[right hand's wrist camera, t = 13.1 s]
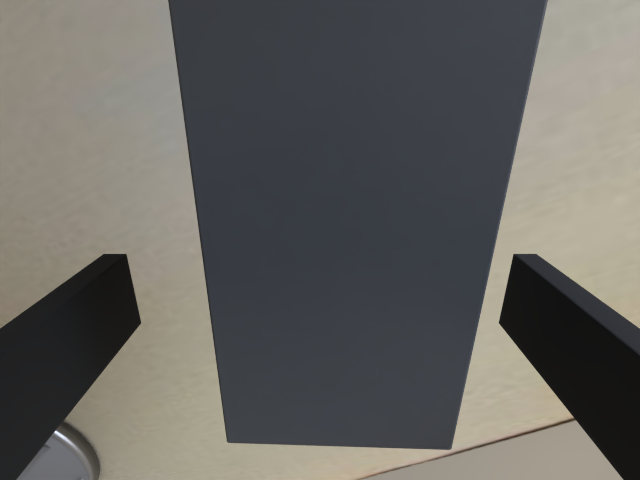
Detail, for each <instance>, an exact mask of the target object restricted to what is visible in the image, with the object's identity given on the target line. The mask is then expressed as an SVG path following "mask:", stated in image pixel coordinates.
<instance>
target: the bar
mask: <svg viewBox="0 0 640 480" xmlns="http://www.w3.org/2000/svg"><path fill="white" fill-rule="evenodd" d="M168 1H169V9H170V16H171V24H172V31H173V39H174V46H175V54H176V61H177V69H178V76H179V84H180V91H181V99H182V106H183V114H184V121H185V129H186V136H187V144H188V151H189V159H190V167H191V174H192V182H193V189H194V197H195V204H196V212H197V219H198V227H199V234H200V242H201V249H202V257H203V264H204V272H205V279H206V287H207V294H208V302H209V309H210V317H211V324H212V332H213V339H214V347H215V354H216V362H217V370H218V377H219V385H220V392H221V400H222V407H223V415H224V422H225V430H226V437H227V442H228V443H251V444H282V445H314V446H346V447H378V448H409V449H441V450H450V449H451V448H452V443H453V439H454V434H455V429H456V425H457V420H458V415H459V411H460V406H461V401H462V397H463V392H464V387H465V383H466V378H467V373H468V369H469V364H470V360H471V355H472V350H473V346H474V341H475V336H476V332H477V327H478V322H479V318H480V313H481V308H482V304H483V299H484V294H485V290H486V285H487V280H488V276H489V271H490V266H491V262H492V257H493V252H494V248H495V243H496V239H497V234H498V229H499V225H500V220H501V215H502V211H503V206H504V201H505V197H506V192H507V187H508V183H509V178H510V173H511V169H512V164H513V159H514V155H515V150H516V145H517V141H518V136H519V131H520V127H521V122H522V117H523V113H524V108H525V104H526V99H527V94H528V90H529V85H530V80H531V76H532V71H533V66H534V62H535V57H536V52H537V48H538V43H539V38H540V34H541V29H542V24H543V20H544V15H545V10H546V6H547V1H548V0H168Z"/></svg>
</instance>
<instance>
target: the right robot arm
mask: <svg viewBox="0 0 640 480" xmlns="http://www.w3.org/2000/svg"><path fill="white" fill-rule="evenodd" d="M140 324H141V320H140V315H139V311H138V306H137V301H136V297H135V292H134V287H133V283H132V278H131V274H130V269H129V264H128V260H127V255H126V254H103V255H102V256H100V257H99V258H98V259H96V260H95V261H93V262H92V263H91V264H89V265H88V266H87V267H85V268H84V269H82V270H81V271H80V272H78V273H77V274H75V275H74V276H73V277H71V278H70V279H69V280H67V281H66V282H64V283H63V284H62V285H60V286H59V287H57V288H56V289H55V290H53V291H52V292H50V293H49V294H48V295H46V296H45V297H44V298H42V299H41V300H39V301H38V302H37V303H35V304H34V305H32V306H31V307H30V308H28V309H27V310H26V311H24V312H23V313H21V314H20V315H19V316H17V317H16V318H14V319H13V320H12V321H10V322H9V323H8V324H6V325H5V326H3V327H2V328H1V329H0V480H98V478H99V473H100V465H99V461H98V458H97V455H96V453H95V451H94V450H93V448H92V447H91V445H90V444H89V443H88V441H87V440H86V439H85V438H84V437H83V436H82V435H81V434H80V433H78V432H77V431H76V430H75V429H73V428H72V427H70V426H69V425H67V424H66V423H64V422H63V421H64V419H65V418H66V417H67V416H68V414H69V413H70V412H71V410H72V409H73V408H74V407H75V405H76V404H77V403H78V402H79V400H80V399H81V398H82V397H83V395H84V394H85V393H86V392H87V390H88V389H89V388H90V387H91V385H92V384H93V383H94V382H95V380H96V379H97V378H98V377H99V375H100V374H101V373H102V371H103V370H104V369H105V368H106V366H107V365H108V364H109V363H110V361H111V360H112V359H113V358H114V356H115V355H116V354H117V353H118V351H119V350H120V349H121V348H122V346H123V345H124V344H125V343H126V341H127V340H128V339H129V338H130V336H131V335H132V334H133V333H134V331H135V330H136V329H137V327H138V326H139V325H140ZM499 324H500V325H501V326H502V327H503V329H504V330H505V331H506V333H507V334H508V335H509V336H510V338H511V339H512V340H513V341H514V343H515V344H516V345H517V346H518V348H519V349H520V350H521V351H522V353H523V354H524V355H525V356H526V358H527V359H528V360H529V361H530V363H531V364H532V365H533V366H534V368H535V369H536V370H537V371H538V373H539V374H540V375H541V377H542V378H543V379H544V380H545V382H546V383H547V384H548V385H549V387H550V388H551V389H552V390H553V392H554V393H555V394H556V395H557V397H558V398H559V399H560V400H561V402H562V403H563V404H564V405H565V407H566V408H567V409H568V410H569V412H570V413H571V414H572V416H573V417H574V418H575V419H576V421H577V422H578V423H579V424H580V426H581V427H582V428H583V429H584V431H585V432H586V433H587V434H588V436H589V437H590V438H591V439H592V441H593V442H594V443H595V444H596V446H597V447H598V448H599V449H600V451H601V452H602V453H603V454H604V456H605V457H606V458H607V460H608V461H609V462H610V463H611V465H612V466H613V467H614V468H615V470H616V471H617V472H618V473H619V475H620V476H621V477H622V478H623V480H640V329H639V328H638V327H637V326H635V325H634V324H632V323H631V322H630V321H628V320H627V319H626V318H624V317H623V316H621V315H620V314H619V313H617V312H616V311H614V310H613V309H612V308H610V307H609V306H608V305H606V304H605V303H603V302H602V301H601V300H599V299H598V298H596V297H595V296H594V295H592V294H591V293H590V292H588V291H587V290H585V289H584V288H583V287H581V286H580V285H578V284H577V283H576V282H574V281H573V280H571V279H570V278H569V277H567V276H566V275H565V274H563V273H562V272H560V271H559V270H558V269H556V268H555V267H553V266H552V265H551V264H549V263H548V262H547V261H545V260H544V259H542V258H541V257H540V256H538V255H537V254H514V255H513V260H512V264H511V269H510V274H509V278H508V283H507V287H506V292H505V297H504V301H503V306H502V311H501V315H500V320H499Z"/></svg>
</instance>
